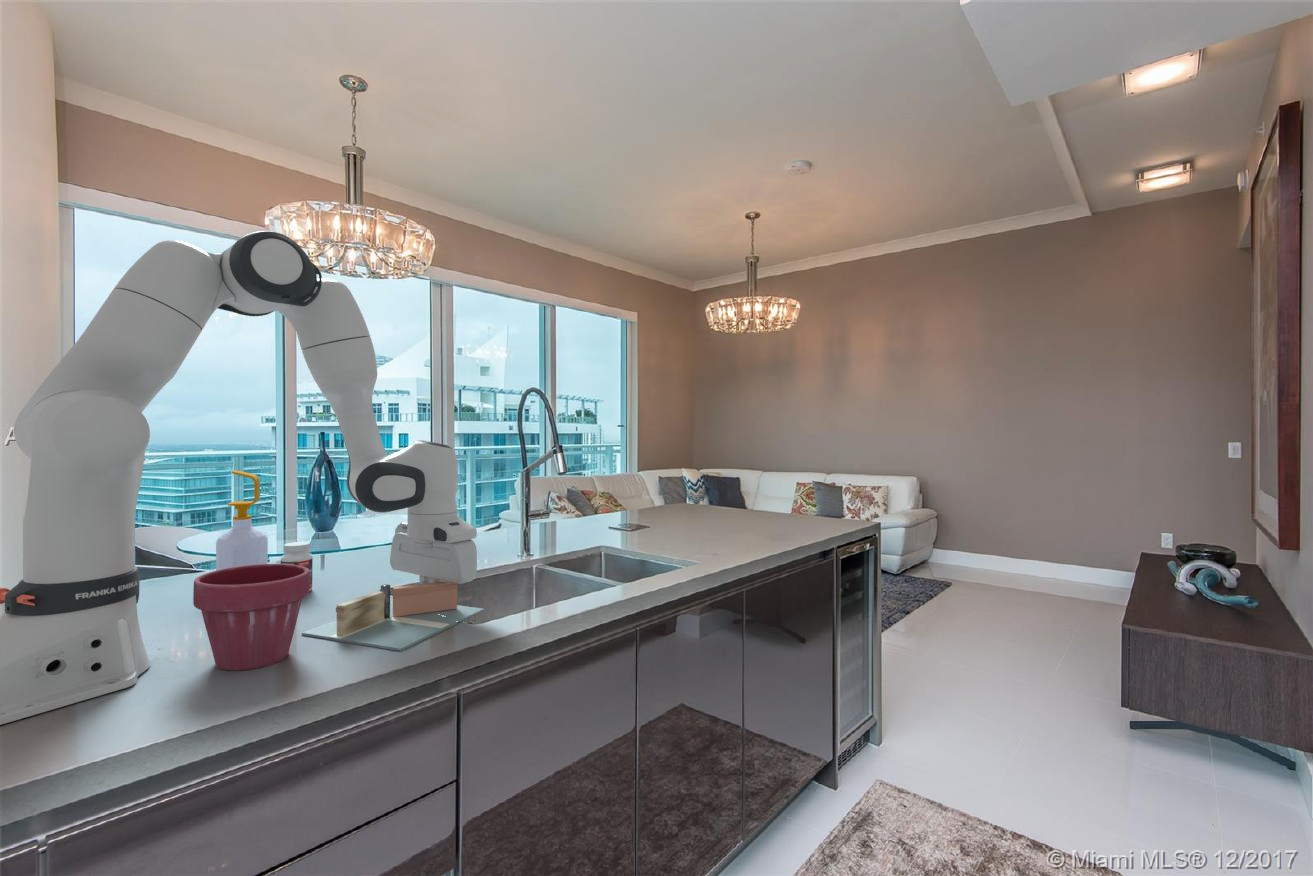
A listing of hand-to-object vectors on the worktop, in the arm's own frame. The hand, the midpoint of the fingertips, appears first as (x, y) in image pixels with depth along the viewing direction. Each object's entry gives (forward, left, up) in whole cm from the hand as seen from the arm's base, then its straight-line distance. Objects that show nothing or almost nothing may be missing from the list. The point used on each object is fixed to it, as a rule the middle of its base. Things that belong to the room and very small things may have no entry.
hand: (430, 599), depth 115 cm
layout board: (-8, 0, -2) cm, 8 cm away
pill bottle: (0, +33, -2) cm, 33 cm away
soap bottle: (-1, +47, -2) cm, 47 cm away
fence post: (-8, +3, -2) cm, 9 cm away
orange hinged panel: (-3, -1, -1) cm, 4 cm away
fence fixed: (-14, +3, -2) cm, 14 cm away
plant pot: (-29, +8, -2) cm, 30 cm away
